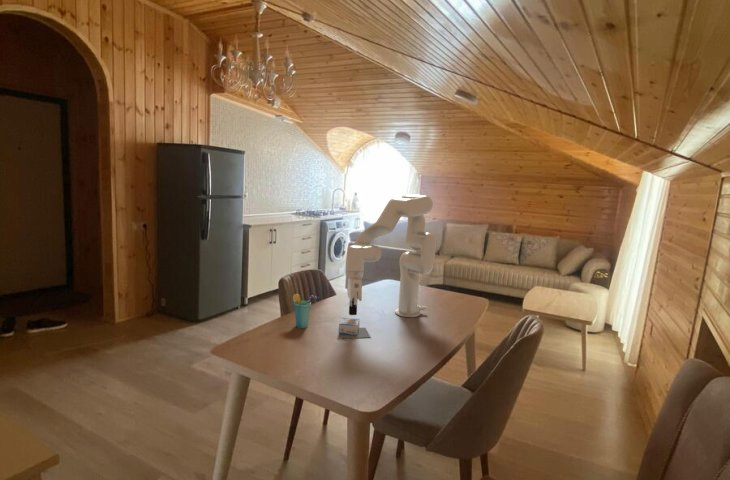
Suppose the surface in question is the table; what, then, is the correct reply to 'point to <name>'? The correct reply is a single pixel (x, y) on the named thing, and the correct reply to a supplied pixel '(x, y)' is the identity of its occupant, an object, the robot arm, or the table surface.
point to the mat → (361, 334)
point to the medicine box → (349, 326)
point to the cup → (302, 310)
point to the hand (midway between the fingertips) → (352, 314)
